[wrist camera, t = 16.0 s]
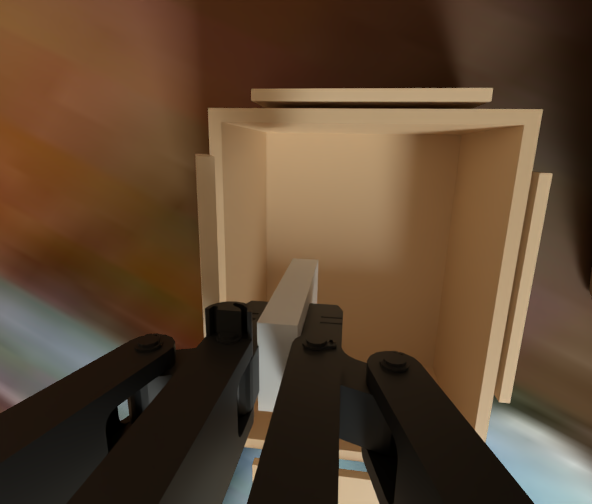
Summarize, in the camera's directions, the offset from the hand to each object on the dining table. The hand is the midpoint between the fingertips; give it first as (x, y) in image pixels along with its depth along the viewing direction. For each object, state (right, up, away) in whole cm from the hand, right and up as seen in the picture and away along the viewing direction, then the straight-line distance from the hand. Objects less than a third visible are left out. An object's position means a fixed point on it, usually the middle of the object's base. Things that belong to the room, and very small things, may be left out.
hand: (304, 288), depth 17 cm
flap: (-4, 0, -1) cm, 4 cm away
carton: (+4, +2, +11) cm, 12 cm away
